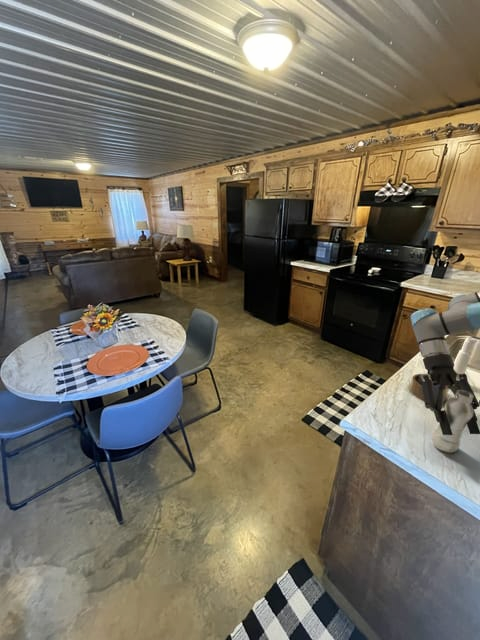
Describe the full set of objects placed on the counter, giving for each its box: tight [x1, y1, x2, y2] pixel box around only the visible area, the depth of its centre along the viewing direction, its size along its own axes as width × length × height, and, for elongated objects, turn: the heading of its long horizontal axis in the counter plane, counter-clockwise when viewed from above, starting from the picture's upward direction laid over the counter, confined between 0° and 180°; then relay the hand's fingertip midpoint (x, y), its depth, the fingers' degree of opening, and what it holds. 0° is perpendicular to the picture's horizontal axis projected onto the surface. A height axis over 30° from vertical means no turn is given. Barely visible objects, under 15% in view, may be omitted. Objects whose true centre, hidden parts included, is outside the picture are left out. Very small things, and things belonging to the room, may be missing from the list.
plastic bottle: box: [431, 390, 475, 454], centre depth 77 cm, size 6×7×20 cm
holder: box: [409, 373, 450, 403], centre depth 102 cm, size 12×12×6 cm
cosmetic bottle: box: [453, 336, 475, 374], centre depth 106 cm, size 6×6×22 cm
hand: (461, 434), depth 74 cm, fingers open, 8 cm apart
